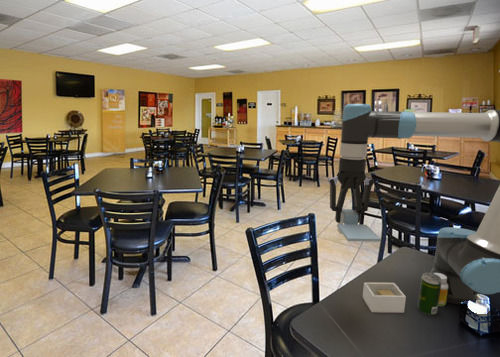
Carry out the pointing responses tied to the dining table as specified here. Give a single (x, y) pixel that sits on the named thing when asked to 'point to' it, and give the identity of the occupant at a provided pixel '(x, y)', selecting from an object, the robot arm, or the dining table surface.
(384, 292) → the brass part
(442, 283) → the supplement bottle
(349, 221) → the lid
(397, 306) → the tub
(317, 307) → the dining table surface
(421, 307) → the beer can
